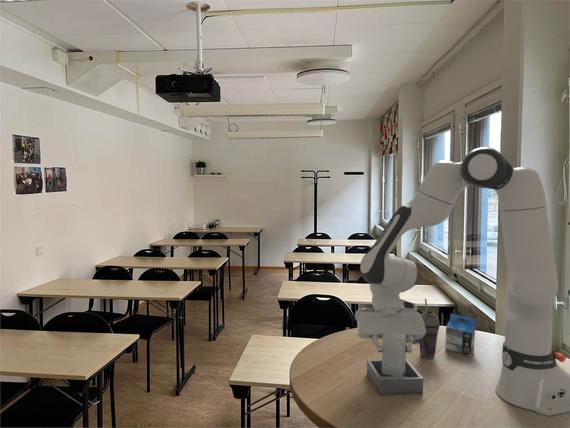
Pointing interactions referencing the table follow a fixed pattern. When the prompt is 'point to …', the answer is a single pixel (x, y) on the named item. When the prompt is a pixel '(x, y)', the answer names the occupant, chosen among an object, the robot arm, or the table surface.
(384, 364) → the skincare box
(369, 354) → the table surface
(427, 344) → the beverage cup
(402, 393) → the box
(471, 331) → the label tape cartridge
